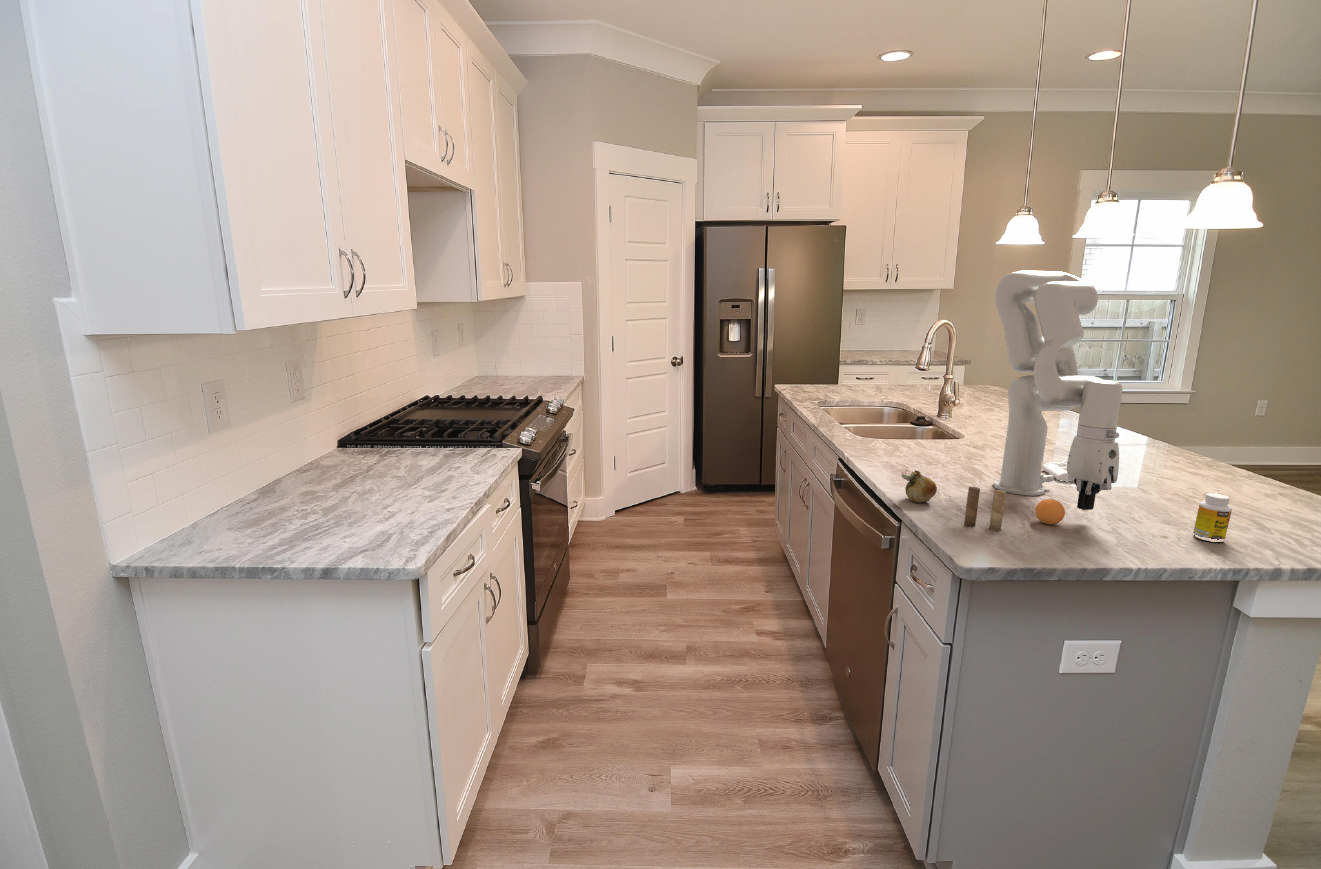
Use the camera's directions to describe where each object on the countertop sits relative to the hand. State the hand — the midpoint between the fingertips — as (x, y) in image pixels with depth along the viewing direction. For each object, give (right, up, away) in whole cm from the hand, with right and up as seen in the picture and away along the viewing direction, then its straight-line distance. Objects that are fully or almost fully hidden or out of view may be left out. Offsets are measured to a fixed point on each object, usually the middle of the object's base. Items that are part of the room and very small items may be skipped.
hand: (1085, 508), depth 154 cm
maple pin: (-24, -4, -5) cm, 25 cm away
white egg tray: (+22, +4, +38) cm, 44 cm away
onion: (-34, 0, +14) cm, 37 cm away
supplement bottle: (+22, -6, -9) cm, 24 cm away
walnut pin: (-29, -4, -2) cm, 29 cm away
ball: (-9, -1, -1) cm, 9 cm away
